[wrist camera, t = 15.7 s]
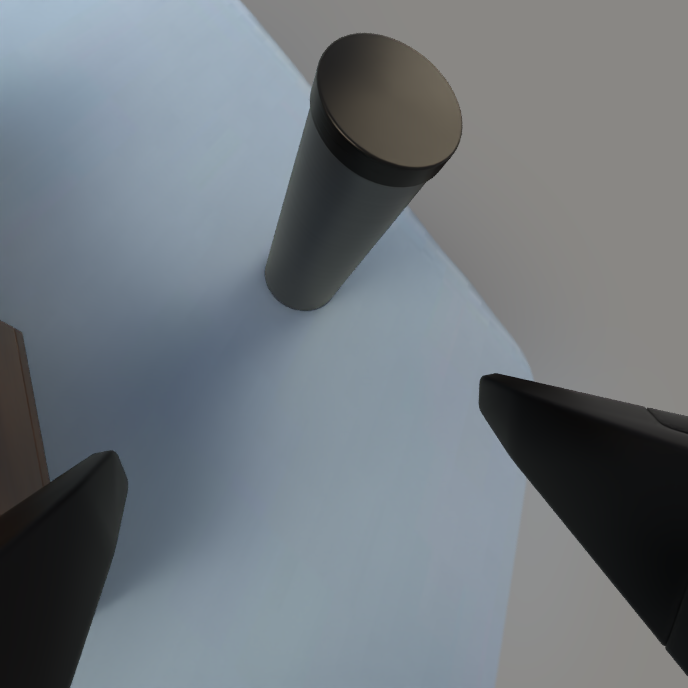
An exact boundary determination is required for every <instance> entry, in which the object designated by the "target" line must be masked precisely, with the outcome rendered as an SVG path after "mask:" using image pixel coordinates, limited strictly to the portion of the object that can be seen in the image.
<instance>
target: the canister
mask: <svg viewBox="0 0 688 688" xmlns="http://www.w3.org/2000/svg"><path fill="white" fill-rule="evenodd" d="M461 135H462V116H461V110H460V107H459V104H458V101H457V99H456V96H455V94H454V92H453V90H452V88H451V87H450V85H449V84H448V82H447V81H446V79H445V78H444V76H443V75H442V74H441V73H440V71H439V70H438V69H437V68H436V67H435V66H434V65H433V64H432V63H431V62H430V61H429V60H427V59H426V58H425V57H424V56H423V55H421V54H420V53H419V52H417V51H416V50H414V49H413V48H411V47H410V46H407V45H406V44H404V43H402V42H400V41H397V40H395V39H393V38H389V37H386V36H383V35H378V34H372V33H356V34H351V35H347V36H344V37H341V38H339V39H338V40H336V41H334V42H333V43H332V44H331V45H330V46H329V47H328V48H327V49H326V50H325V52H324V53H323V54H322V56H321V58H320V60H319V63H318V67H317V71H316V75H315V78H314V82H313V85H312V89H311V93H310V109H309V113H308V116H307V120H306V124H305V127H304V131H303V134H302V138H301V141H300V145H299V149H298V152H297V156H296V159H295V163H294V166H293V170H292V173H291V177H290V181H289V184H288V188H287V191H286V195H285V198H284V202H283V206H282V209H281V213H280V216H279V220H278V223H277V227H276V231H275V234H274V238H273V241H272V245H271V248H270V252H269V255H268V259H267V263H266V266H265V279H266V283H267V286H268V288H269V290H270V291H271V293H272V294H273V296H274V297H275V298H276V299H277V300H278V301H279V302H281V303H282V304H284V305H285V306H287V307H289V308H292V309H295V310H300V311H310V310H315V309H318V308H320V307H322V306H324V305H325V304H326V303H328V302H329V301H330V299H331V298H332V297H333V296H334V295H335V293H336V292H337V291H338V290H339V288H340V287H341V286H342V285H343V283H344V282H345V281H346V280H347V279H348V277H349V276H350V275H351V274H352V272H353V271H354V270H355V269H356V268H357V266H358V265H359V264H360V263H361V261H362V260H363V259H364V258H365V256H366V255H367V254H368V253H369V252H370V250H371V249H372V248H373V247H374V245H375V244H376V243H377V242H378V241H379V239H380V238H381V237H382V236H383V234H384V233H385V232H386V231H387V229H388V228H389V227H390V226H391V225H392V223H393V222H394V221H395V220H396V218H397V217H398V216H399V215H400V214H401V212H402V211H403V210H404V209H405V207H406V206H407V205H408V204H409V202H410V201H411V200H412V199H413V198H414V196H415V195H416V194H417V193H418V191H419V190H420V189H421V188H422V186H423V185H424V184H425V183H426V182H427V181H428V180H430V179H431V178H433V177H434V176H435V175H436V174H437V173H438V172H439V171H440V170H441V168H442V167H443V166H444V165H445V163H446V162H447V161H448V160H449V159H450V158H451V156H452V155H453V154H454V152H455V151H456V149H457V147H458V145H459V142H460V138H461Z"/></svg>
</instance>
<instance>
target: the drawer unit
mask: <svg viewBox="0 0 688 688" xmlns="http://www.w3.org/2000/svg"><path fill="white" fill-rule="evenodd" d="M49 483H50V480H49V475H48V469H47V464H46V458H45V453H44V448H43V442H42V437H41V431H40V426H39V421H38V415H37V410H36V404H35V399H34V394H33V388H32V383H31V377H30V372H29V367H28V361H27V356H26V351H25V345H24V340H23V334H22V332H21V331H19V330H17V329H15V328H13V327H12V326H10V325H8V324H6V323H5V322H3V321H1V320H0V516H1V515H2V514H4V513H5V512H7V511H8V510H10V509H11V508H13V507H14V506H16V505H17V504H19V503H20V502H22V501H23V500H25V499H26V498H28V497H29V496H31V495H32V494H34V493H35V492H37V491H38V490H40V489H41V488H43V487H44V486H46V485H47V484H49Z"/></svg>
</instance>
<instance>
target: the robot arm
mask: <svg viewBox="0 0 688 688" xmlns="http://www.w3.org/2000/svg"><path fill="white" fill-rule="evenodd" d="M479 408H480V411H481V413H482V415H483V416H484V418H485V419H486V421H487V422H488V424H489V425H490V427H491V428H492V430H493V431H494V433H495V435H496V436H497V438H498V439H499V441H500V442H501V444H502V445H503V447H504V448H505V450H506V451H507V453H508V454H509V456H510V457H511V458H512V460H513V461H514V462H515V464H516V465H517V466H518V467H519V469H520V470H521V471H522V472H523V474H524V475H525V476H526V477H527V478H528V480H529V481H530V482H531V483H532V485H533V486H534V487H535V488H536V490H537V491H538V492H539V493H540V494H541V496H542V497H543V498H544V499H545V501H546V502H547V503H548V504H549V506H550V507H551V508H552V509H553V511H554V512H555V513H556V514H557V515H558V517H559V518H560V519H561V520H562V521H563V523H564V524H565V525H566V527H567V528H568V529H569V530H570V531H571V533H572V534H573V535H574V536H575V538H576V539H577V540H578V541H579V543H580V544H581V545H582V546H583V547H584V549H585V550H586V551H587V552H588V554H589V555H590V556H591V557H592V559H593V560H594V561H595V562H596V564H597V565H598V566H599V567H600V568H601V570H602V571H603V572H604V573H605V575H606V576H607V577H608V578H609V579H610V581H611V582H612V583H613V584H614V586H615V587H616V588H617V589H618V591H619V592H620V593H621V594H622V596H623V597H624V598H625V599H626V600H627V602H628V603H629V604H630V605H631V607H632V608H633V609H634V610H635V612H636V613H637V614H638V615H639V616H640V618H641V619H642V620H643V621H644V622H645V624H646V625H647V626H648V628H649V629H650V630H651V631H652V633H653V634H654V635H655V636H656V637H657V639H658V640H659V641H660V642H661V644H662V645H664V646H666V647H665V648H666V650H667V651H668V653H669V654H670V655H671V656H672V658H673V659H674V660H675V661H676V663H677V664H678V665H679V666H680V667H681V669H682V670H683V671H684V672H685V674H686V675H687V676H688V416H684V415H679V414H675V413H670V412H665V411H661V410H657V409H652V408H647V409H646V408H645V407H643V406H639V405H634V404H630V403H626V402H621V401H617V400H612V399H608V398H603V397H599V396H595V395H590V394H586V393H582V392H577V391H573V390H568V389H564V388H560V387H555V386H551V385H546V384H542V383H537V382H533V381H529V380H524V379H520V378H515V377H511V376H507V375H502V374H498V373H494V374H489V375H485V376H482V377H481V379H480V384H479ZM127 492H128V479H127V476H126V474H125V471H124V469H123V466H122V464H121V461H120V459H119V456H118V454H117V453H116V452H115V451H113V450H109V451H104V452H99V453H95V454H92V455H91V456H89V457H88V458H86V459H85V460H83V461H82V462H80V463H79V464H77V465H76V466H74V467H73V468H71V469H70V470H68V471H67V472H65V473H64V474H62V475H61V476H59V477H58V478H56V479H55V480H53V481H52V482H50V483H49V484H47V485H46V486H44V487H43V488H41V489H40V490H38V491H37V492H35V493H34V494H32V495H31V496H29V497H28V498H26V499H25V500H23V501H22V502H20V503H19V504H17V505H16V506H14V507H13V508H11V509H10V510H8V511H7V512H5V513H4V514H2V515H1V516H0V688H70V686H71V683H72V680H73V677H74V674H75V671H76V668H77V665H78V662H79V659H80V656H81V653H82V650H83V647H84V644H85V641H86V638H87V635H88V632H89V629H90V626H91V623H92V620H93V617H94V614H95V611H96V608H97V605H98V602H99V599H100V596H101V593H102V590H103V587H104V584H105V581H106V578H107V575H108V571H109V568H110V565H111V562H112V559H113V556H114V552H115V548H116V544H117V539H118V535H119V530H120V525H121V520H122V516H123V511H124V506H125V501H126V497H127Z"/></svg>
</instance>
